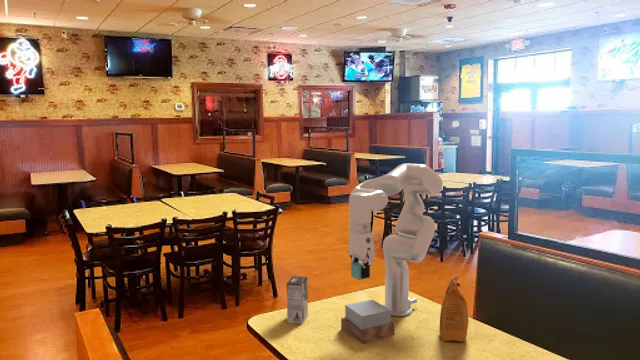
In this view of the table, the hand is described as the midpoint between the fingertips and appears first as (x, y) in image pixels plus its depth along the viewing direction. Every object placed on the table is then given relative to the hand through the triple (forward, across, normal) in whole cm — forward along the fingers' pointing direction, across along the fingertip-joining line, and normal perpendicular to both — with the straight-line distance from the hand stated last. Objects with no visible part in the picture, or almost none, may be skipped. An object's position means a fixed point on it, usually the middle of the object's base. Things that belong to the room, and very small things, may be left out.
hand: (360, 275), depth 178 cm
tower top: (+17, -1, -2) cm, 18 cm away
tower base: (+22, -1, -2) cm, 23 cm away
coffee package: (+23, -20, -26) cm, 40 cm away
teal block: (+1, 0, 0) cm, 1 cm away
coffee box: (+22, +23, +15) cm, 35 cm away
